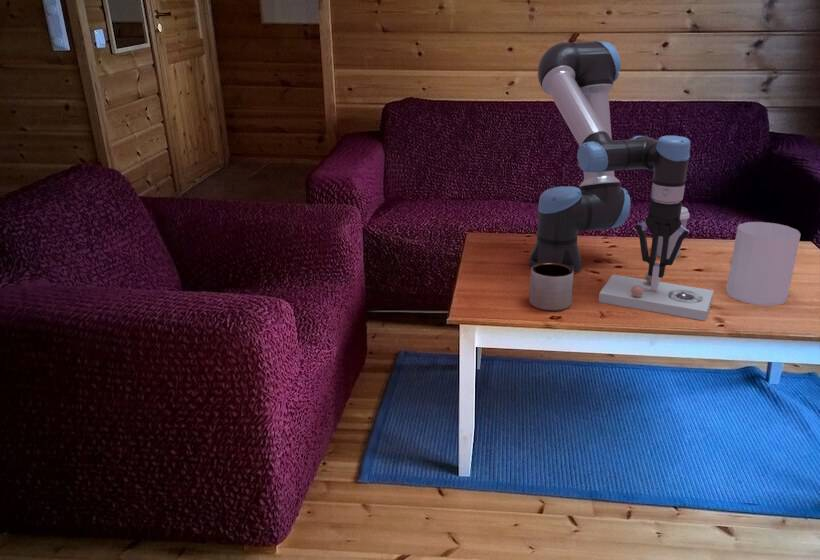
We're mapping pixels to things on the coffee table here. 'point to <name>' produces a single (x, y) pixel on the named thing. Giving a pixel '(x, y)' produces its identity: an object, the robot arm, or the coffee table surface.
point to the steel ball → (683, 296)
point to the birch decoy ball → (649, 278)
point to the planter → (551, 286)
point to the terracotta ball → (637, 291)
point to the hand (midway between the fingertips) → (654, 287)
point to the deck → (657, 297)
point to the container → (763, 263)
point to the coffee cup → (674, 235)
